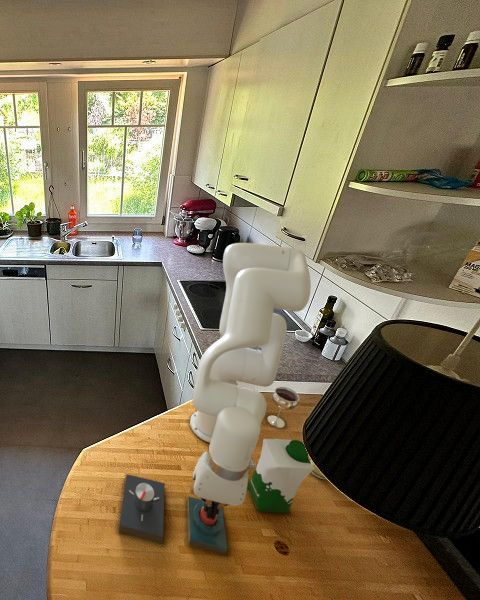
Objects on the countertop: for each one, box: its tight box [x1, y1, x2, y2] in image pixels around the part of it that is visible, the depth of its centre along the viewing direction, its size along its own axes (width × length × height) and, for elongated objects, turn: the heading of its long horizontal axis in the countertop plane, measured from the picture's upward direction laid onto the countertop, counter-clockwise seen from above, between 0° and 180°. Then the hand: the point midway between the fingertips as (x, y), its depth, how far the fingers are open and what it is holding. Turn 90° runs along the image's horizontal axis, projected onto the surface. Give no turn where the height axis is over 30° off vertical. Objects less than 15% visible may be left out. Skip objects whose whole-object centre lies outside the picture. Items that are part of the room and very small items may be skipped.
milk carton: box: [247, 438, 314, 514], centre depth 79 cm, size 9×9×20 cm
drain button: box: [200, 507, 217, 526], centre depth 76 cm, size 4×4×2 cm
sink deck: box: [118, 473, 166, 544], centre depth 80 cm, size 13×10×3 cm
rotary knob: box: [134, 483, 154, 512], centre depth 78 cm, size 4×4×5 cm
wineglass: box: [267, 386, 300, 428], centre depth 103 cm, size 7×7×12 cm
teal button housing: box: [186, 496, 228, 555], centre depth 77 cm, size 10×8×4 cm
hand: (209, 512), depth 75 cm, fingers closed
